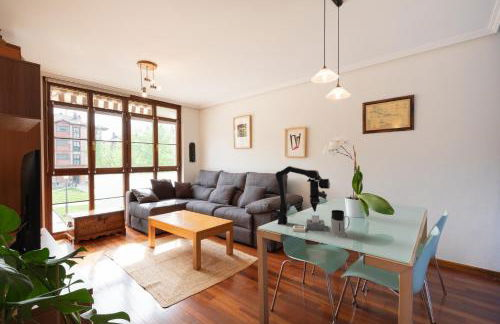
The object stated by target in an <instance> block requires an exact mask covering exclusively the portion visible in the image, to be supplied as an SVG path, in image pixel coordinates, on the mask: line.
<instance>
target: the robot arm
mask: <svg viewBox="0 0 500 324" xmlns="http://www.w3.org/2000/svg"><path fill="white" fill-rule="evenodd" d="M289 173H294V174H299V175H303V176H305V177H307V178H308V179H307V180H306V182H308V183H309V203H310V205H311V208H312V211H313V212H316V211H317V207H318V204H320V198H323V199H324V200H326V199H327V196H328V194H327V193H326V191H324V190H322V191H320V189H326V190H329V189H330V188H331V187H330V186H331V183H330V179H329V178H322V176H320V174H319V171H318V170H316V169H304V168H299V167H296V166H292V165H289V166H286V167H284V168H283V169H281V170H279V171H277V172H276V173H275V178H276V182H277V183H278V191H279V199H280V204H279V210H278V212H276V216H277V225H287V223H288V216H287V215H288V213H289V212H290V210H291V203H290V202H289V203H288V201H287V199H288V198H287V191H286V184H285V183H286V178H287V175H288V174H289ZM319 188H320V189H319Z"/></svg>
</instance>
